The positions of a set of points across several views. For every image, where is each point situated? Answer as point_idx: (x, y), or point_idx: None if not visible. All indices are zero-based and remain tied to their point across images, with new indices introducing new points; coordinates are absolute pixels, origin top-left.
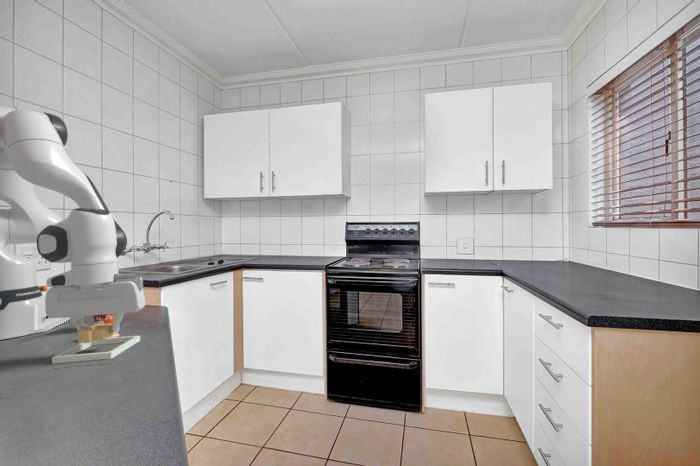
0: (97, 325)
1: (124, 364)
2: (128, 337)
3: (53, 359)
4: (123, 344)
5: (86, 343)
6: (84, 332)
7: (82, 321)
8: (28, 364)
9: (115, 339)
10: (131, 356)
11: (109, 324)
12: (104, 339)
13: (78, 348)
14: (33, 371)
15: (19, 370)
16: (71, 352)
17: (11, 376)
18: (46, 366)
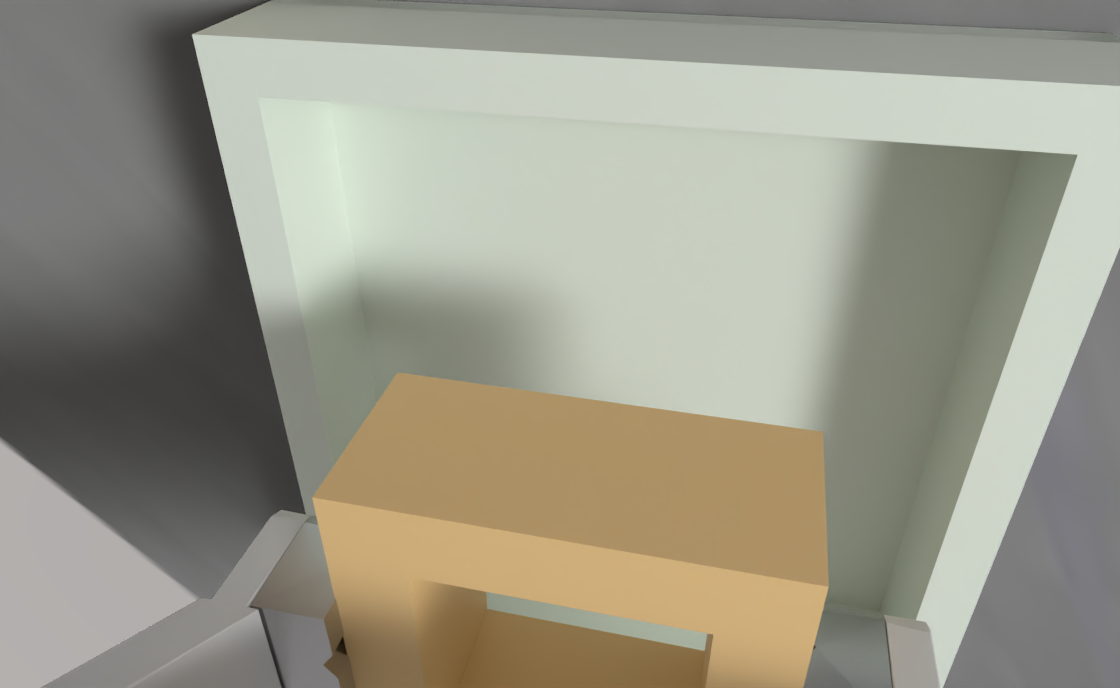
0: (444, 576)
1: (1060, 680)
2: (930, 138)
3: None
4: (984, 528)
5: (289, 208)
6: None
7: (155, 672)
8: (10, 333)
9: (672, 118)
10: (1079, 504)
11: (691, 623)
12: (474, 110)
13: (325, 347)
14: (247, 519)
15: (94, 454)
16: (346, 440)
17: (168, 552)
18: (254, 448)
